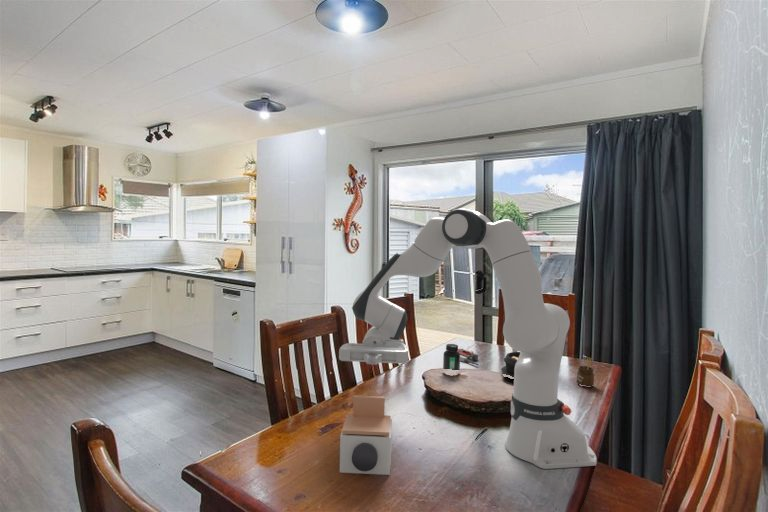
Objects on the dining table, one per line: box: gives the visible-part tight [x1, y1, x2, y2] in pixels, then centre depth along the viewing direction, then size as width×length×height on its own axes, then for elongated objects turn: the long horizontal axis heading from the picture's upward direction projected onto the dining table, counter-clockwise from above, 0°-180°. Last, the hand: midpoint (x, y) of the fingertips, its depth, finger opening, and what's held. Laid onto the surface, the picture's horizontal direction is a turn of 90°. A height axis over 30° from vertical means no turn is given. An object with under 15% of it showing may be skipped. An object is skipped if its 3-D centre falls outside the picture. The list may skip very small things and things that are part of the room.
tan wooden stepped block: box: [341, 394, 392, 436], centre depth 103 cm, size 11×9×6 cm
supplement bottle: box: [442, 343, 461, 370], centre depth 172 cm, size 7×7×12 cm
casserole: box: [501, 351, 521, 377], centre depth 171 cm, size 25×19×8 cm
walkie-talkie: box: [458, 348, 479, 366], centre depth 192 cm, size 9×4×20 cm
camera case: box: [339, 418, 393, 476], centre depth 103 cm, size 12×12×9 cm
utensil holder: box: [576, 356, 595, 386], centre depth 161 cm, size 6×6×12 cm
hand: (371, 361), depth 115 cm, fingers closed
